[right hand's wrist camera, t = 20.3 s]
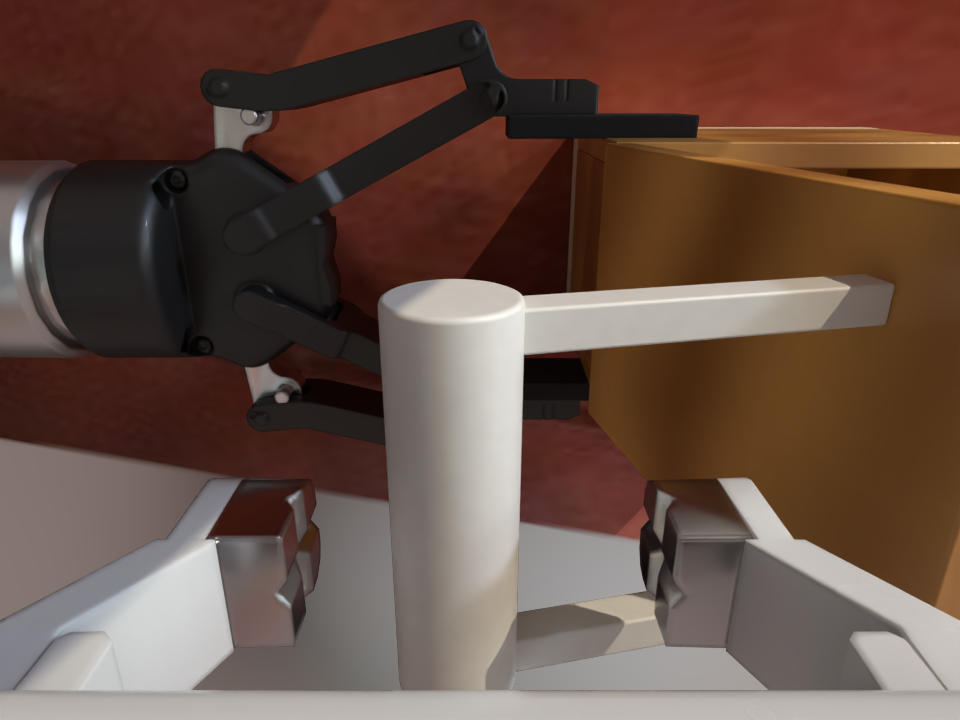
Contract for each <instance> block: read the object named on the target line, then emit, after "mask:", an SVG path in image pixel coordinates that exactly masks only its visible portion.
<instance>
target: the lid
mask: <svg viewBox="0 0 960 720" xmlns="http://www.w3.org/2000/svg"><path fill="white" fill-rule="evenodd" d="M378 321H379V338H380V355H381V373H382V390H383V407H384V424H385V442H386V459H387V476H388V493H389V511H390V527H391V545H392V562H393V579H394V597H395V613H396V631H397V648H398V666H399V681H400V685H401V688H402V690H511V689H512V687H513V684H514V681H515V673H516V672H517V671H523V670H528V669H533V668H539V667H544V666H550V665H555V664H560V663H566V662H571V661H577V660H582V659H588V658H593V657H598V656H603V655H609V654H615V653H620V652H625V651H631V650H636V649H641V648H647V647H652V646H658V645H663V644H665V643H664V640H663V637H662V634H661V631H660V628H659V625H658V622H657V620H656V617H655V614H654V607H655V598H656V597H654V596H653V595H652V594H650V593H649V592H648V591H645V592H639V593H633V594H627V595H621V596H615V597H609V598H603V599H597V600H591V601H585V602H579V603H573V604H567V605H561V606H555V607H549V608H543V609H536V610H530V611H525V612H518V613H517V598H518V560H519V522H520V484H521V446H522V408H523V370H524V355H531V354H543V353H555V352H567V351H579V350H591V349H592V358H591V374H590V389H589V404H588V413H589V414H590V415H591V417H592V418H593V419H594V420H595V421H596V422H597V424H598V425H599V426H600V427H601V428H602V429H603V431H604V432H605V433H606V434H607V435H608V436H609V438H610V439H611V440H612V441H613V442H614V443H615V445H616V446H617V447H618V448H619V449H620V450H621V452H622V453H623V454H624V455H625V456H626V457H627V459H628V460H629V461H630V462H631V463H632V464H633V466H634V467H635V468H636V469H637V470H638V471H639V473H640V474H641V475H642V476H643V477H644V478H645V480H646V481H647V482H648V481H649V480H677V479H717V478H742V477H746V478H748V479H750V480H752V482H753V483H754V484H755V486H756V487H757V489H758V490H759V491H760V493H761V494H762V496H763V497H764V498H765V500H766V501H767V502H768V504H769V505H770V507H771V508H772V509H773V511H774V512H775V514H776V515H777V516H778V518H779V519H780V520H781V522H782V523H783V525H784V526H785V527H786V529H787V530H788V532H789V533H790V534H791V536H792V537H793V539H794V540H806V541H808V542H810V543H812V544H814V545H816V546H818V547H820V548H822V549H824V550H825V551H827V552H829V553H831V554H833V555H835V556H837V557H839V558H841V559H843V560H845V561H847V562H848V563H850V564H852V565H854V566H856V567H858V568H860V569H862V570H864V571H866V572H868V573H869V574H871V575H873V576H875V577H877V578H879V579H881V580H883V581H885V582H887V583H889V584H891V585H892V586H894V587H896V588H898V589H900V590H902V591H904V592H906V593H908V594H910V595H912V596H914V597H915V598H917V599H919V600H921V601H923V602H925V603H927V604H929V605H931V606H933V607H935V608H937V609H938V610H940V611H942V612H944V613H946V614H948V615H950V616H952V617H954V618H956V619H958V620H960V194H953V193H947V192H940V191H934V190H928V189H921V188H915V187H909V186H902V185H896V184H889V183H883V182H877V181H870V180H864V179H858V178H851V177H845V176H838V175H832V174H826V173H819V172H813V171H806V170H800V169H794V168H787V167H781V166H775V165H768V164H762V163H755V162H749V161H743V160H736V159H730V158H724V157H717V156H711V155H704V154H698V153H692V152H685V151H679V150H672V149H666V148H660V147H653V146H647V145H641V144H634V143H608V144H606V147H605V162H604V177H603V192H602V207H601V222H600V238H599V253H598V268H597V283H596V291H592V292H576V293H561V294H545V295H530V296H522V295H521V294H520V293H519V292H518V291H516V290H514V289H512V288H510V287H507V286H504V285H501V284H497V283H493V282H487V281H480V280H469V279H438V280H427V281H420V282H414V283H410V284H406V285H402V286H399V287H396V288H394V289H391V290H389V291H387V292H385V293H384V294H383V295H382V296H381V297H380V299H379V302H378Z"/></svg>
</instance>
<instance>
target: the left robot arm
mask: <svg viewBox="0 0 960 720" xmlns="http://www.w3.org/2000/svg"><path fill="white" fill-rule="evenodd" d="M459 66H460V69H461V72H462V74H463V77H464V80H465V83H466V86H467V89H466V90H464V91H463V92H461V93H459V94H457V95H456V96H454V97H452V98H450V99H448V100H447V101H445V102H443V103H441V104H440V105H438V106H436V107H434V108H433V109H431V110H429V111H427V112H425V113H424V114H422V115H420V116H418V117H417V118H415V119H413V120H411V121H410V122H408V123H406V124H404V125H403V126H401V127H399V128H397V129H395V130H394V131H392V132H390V133H388V134H387V135H385V136H383V137H381V138H380V139H378V140H376V141H374V142H372V143H371V144H369V145H367V146H365V147H364V148H362V149H360V150H358V151H357V152H355V153H353V154H351V155H349V156H348V157H346V158H344V159H342V160H341V161H339V162H337V163H335V164H334V165H332V166H330V167H328V168H326V169H325V170H323V171H321V172H319V173H317V174H315V175H314V176H312V177H310V178H308V179H307V180H305V181H303V182H301V183H297V182H296V181H295V180H293V179H292V178H290V177H289V176H287V175H286V174H284V173H283V172H282V171H280V170H279V169H277V168H276V167H274V166H273V165H271V164H270V163H269V162H267V161H266V160H264V159H263V158H261V157H260V156H259V155H257V154H256V153H254V152H253V151H251V150H250V146H251V142H252V140H253V138H254V137H255V136H256V135H258V134H260V133H264V132H270V131H271V130H273V129H274V128H275V127H276V126H277V124H278V122H279V111H283V110H294V109H301V108H306V107H311V106H315V105H318V104H322V103H326V102H329V101H333V100H337V99H341V98H344V97H348V96H352V95H355V94H359V93H363V92H367V91H370V90H374V89H378V88H381V87H385V86H389V85H393V84H396V83H400V82H404V81H407V80H411V79H415V78H419V77H422V76H426V75H430V74H433V73H437V72H441V71H445V70H448V69H452V68H456V67H459ZM200 87H201V92H202V94H203V96H204V98H205V99H206V100H207V101H208V102H209V103H210V104H212V105H213V106H214V134H215V149H213V150H211V151H209V152H207V153H206V154H204V155H203V156H201V157H200V158H197V159H195V160H91V161H86V162H82V163H81V164H79V165H76V164H74V163H71V162H68V161H65V160H0V357H38V358H80V357H88V356H90V355H92V354H94V353H95V354H97V355H100V356H103V357H199V356H216V357H221V358H224V359H226V360H229V361H231V362H233V363H235V364H237V365H239V366H243V367H245V370H246V374H247V377H248V381H249V385H250V389H251V393H252V397H253V402H254V403H253V405H252V406H251V408H250V409H249V411H248V413H247V421H248V423H249V425H250V426H251V427H252V428H253V429H255V430H257V431H261V432H267V431H278V430H288V429H298V428H308V429H313V430H317V431H322V432H327V433H331V434H336V435H341V436H345V437H350V438H354V439H359V440H364V441H368V442H373V443H378V444H382V445H386V442H385V424H384V407H383V392H381V391H376V390H372V389H367V388H363V387H358V386H354V385H349V384H345V383H340V382H336V381H330V380H325V379H305V377H304V376H303V374H302V372H301V371H300V370H297V369H288V368H285V367H282V366H281V365H280V364H279V363H278V362H277V361H276V357H277V356H278V355H280V354H281V353H282V352H284V351H285V350H286V349H288V348H289V347H290V346H292V345H293V344H295V343H298V344H300V345H302V346H304V347H306V348H309V349H311V350H313V351H315V352H317V353H319V354H322V355H324V356H326V357H329V358H333V359H337V358H341V359H345V360H347V361H349V362H351V363H353V364H356V365H358V366H360V367H362V368H364V369H366V370H368V371H370V372H373V373H375V374H377V375H379V376H381V377H382V373H381V355H380V338H379V321H378V320H376V319H374V318H372V317H370V316H368V315H366V314H364V313H363V312H362V310H361V309H360V308H359V307H357V306H356V305H354V304H352V303H350V302H348V301H346V300H344V299H342V298H340V297H338V296H339V295H340V293H341V282H340V273H339V270H338V267H337V265H336V262H335V259H334V256H333V254H334V248H335V243H336V238H337V231H336V218H335V216H331V214H330V211H329V210H328V209H329V208H330V207H332V206H334V205H336V204H337V203H339V202H341V201H342V200H344V199H346V198H348V197H349V196H351V195H353V194H355V193H357V192H358V191H360V190H362V189H364V188H366V187H367V186H369V185H371V184H373V183H375V182H376V181H378V180H380V179H382V178H384V177H385V176H387V175H389V174H391V173H393V172H394V171H396V170H398V169H400V168H402V167H404V166H405V165H407V164H409V163H411V162H413V161H414V160H416V159H418V158H420V157H422V156H423V155H425V154H427V153H429V152H431V151H432V150H434V149H436V148H438V147H440V146H441V145H443V144H445V143H447V142H449V141H450V140H452V139H454V138H456V137H458V136H460V135H461V134H463V133H465V132H467V131H469V130H470V129H472V128H474V127H476V126H478V125H479V124H481V123H483V122H485V121H487V120H488V119H490V118H492V117H494V116H506V136H507V137H508V139H605V138H697V131H698V122H699V115H688V114H678V113H609V114H597V111H598V94H599V85H597V84H594V83H592V82H590V81H588V80H585V79H512V78H510V77H507V76H506V75H504V74H503V73H502V72H501V71H500V70H499V68H498V66H497V64H496V62H495V59H494V55H493V52H492V49H491V46H490V43H489V40H488V37H487V33H486V31H485V28H484V27H483V26H482V25H481V24H480V23H479V22H476V21H474V20H464V21H461V22H457V23H454V24H450V25H446V26H443V27H439V28H435V29H432V30H428V31H425V32H421V33H417V34H414V35H410V36H406V37H403V38H399V39H395V40H392V41H388V42H385V43H381V44H377V45H374V46H370V47H366V48H363V49H359V50H355V51H352V52H348V53H345V54H341V55H337V56H334V57H330V58H326V59H323V60H319V61H315V62H312V63H308V64H305V65H301V66H297V67H294V68H290V69H286V70H283V71H279V72H275V73H272V74H261V73H252V72H244V71H234V70H224V69H211V70H209V71H207V72H206V73H205V74H204V75H203V77H202V78H201V84H200ZM589 389H590V385H589V382H588V379H587V377H586V374H585V371H584V369H583V366H582V363H581V360H580V358H524V370H523V408H522V419H570V418H572V417H575V416H578V415H579V410H580V401H589Z"/></svg>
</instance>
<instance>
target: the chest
mask: <svg viewBox="0 0 960 720" xmlns="http://www.w3.org/2000/svg"><path fill="white" fill-rule="evenodd" d="M608 143H634V144H641V145H647V146H653V147H660V148H666V149H672V150H679V151H685V152H692V153H698V154H704V155H711V156H717V157H724V158H730V159H736V160H743V161H749V162H755V163H762V164H768V165H775V166H781V167H787V168H794V169H800V170H806V171H813V172H819V173H826V174H832V175H838V176H845V177H851V178H858V179H864V180H870V181H877V182H883V183H889V184H896V185H902V186H909V187H915V188H921V189H928V190H934V191H940V192H947V193H953V194H960V136H954V135H942V134H931V133H920V132H909V131H897V130H886V129H879V128H868V127H698V131H697V138H605V139H574V148H573V169H572V189H571V209H570V229H569V250H568V270H567V290H566V293H576V292H592V291H596V283H597V268H598V253H599V238H600V222H601V207H602V192H603V177H604V162H605V147H606V144H608ZM577 352H578V355H579V358H580V360H581V363H582V366H583V369H584V371H585V374H586V377H587V379H588V382H589V385H590V374H591V358H592V349H591V350H579V351H577Z"/></svg>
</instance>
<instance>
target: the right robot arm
mask: <svg viewBox="0 0 960 720" xmlns="http://www.w3.org/2000/svg"><path fill="white" fill-rule="evenodd" d="M315 507H316V497H315V489H314V485H313V483H312V481H311V479H267V478H247V479H245V478H214V479H210V480H208V481H207V483H206V484H205V485H204V487H203V488H202V490H201V491H200V492H199V494H198V495H197V497H196V498H195V499H194V501H193V502H192V503H191V505H190V506H189V508H188V509H187V510H186V512H185V513H184V515H183V516H182V517H181V519H180V520H179V522H178V523H177V525H176V526H175V527H174V529H173V530H172V531H171V533H170V534H169V536H168V537H167V538H166V540H154V541H152V542H150V543H148V544H146V545H144V546H142V547H140V548H138V549H136V550H135V551H133V552H131V553H129V554H127V555H125V556H123V557H121V558H119V559H117V560H115V561H113V562H111V563H110V564H108V565H106V566H104V567H102V568H100V569H98V570H96V571H94V572H92V573H90V574H88V575H87V576H85V577H83V578H81V579H79V580H77V581H75V582H73V583H71V584H69V585H67V586H65V587H63V588H61V589H60V590H58V591H56V592H54V593H52V594H50V595H48V596H46V597H44V598H42V599H40V600H38V601H36V602H35V603H33V604H31V605H29V606H27V607H25V608H23V609H21V610H19V611H17V612H15V613H13V614H12V615H10V616H8V617H6V618H4V619H2V620H0V720H960V620H958V619H956V618H954V617H952V616H950V615H948V614H946V613H944V612H942V611H940V610H938V609H937V608H935V607H933V606H931V605H929V604H927V603H925V602H923V601H921V600H919V599H917V598H915V597H914V596H912V595H910V594H908V593H906V592H904V591H902V590H900V589H898V588H896V587H894V586H892V585H891V584H889V583H887V582H885V581H883V580H881V579H879V578H877V577H875V576H873V575H871V574H869V573H868V572H866V571H864V570H862V569H860V568H858V567H856V566H854V565H852V564H850V563H848V562H847V561H845V560H843V559H841V558H839V557H837V556H835V555H833V554H831V553H829V552H827V551H825V550H824V549H822V548H820V547H818V546H816V545H814V544H812V543H810V542H808V541H806V540H794V539H793V537H792V536H791V534H790V533H789V532H788V530H787V529H786V527H785V526H784V525H783V523H782V522H781V520H780V519H779V518H778V516H777V515H776V514H775V512H774V511H773V509H772V508H771V507H770V505H769V504H768V502H767V501H766V500H765V498H764V497H763V496H762V494H761V493H760V491H759V490H758V489H757V487H756V486H755V484H754V483H753V482H752V480H750V479H748V478H746V477H742V478H717V479H677V480H649V481H648V482H647V485H646V489H645V495H644V507H645V509H646V512H647V515H648V517H649V521H648V522H647V523H646V524H645V525H644V526H643V527H642V528H641V534H640V547H639V548H640V566H641V571H642V577H643V581H644V584H645V587H646V590H647V591H648V592H649V593H650V594H652V595H653V596H654V597H656V598H655V607H654V614H655V617H656V620H657V622H658V625H659V628H660V631H661V634H662V637H663V640H664V643H665V645H666V646H670V647H707V648H726V651H727V652H728V653H729V654H730V655H731V656H732V657H733V658H734V659H735V660H737V661H738V662H739V663H740V664H741V665H742V666H743V667H744V668H745V669H746V670H748V671H749V672H750V673H751V674H752V675H753V676H754V677H755V678H756V679H757V680H758V681H759V682H761V683H762V684H763V685H764V686H765V687H766V688H767V689H768V690H192V689H193V688H194V687H195V686H196V685H198V684H199V683H200V682H201V681H202V680H203V679H204V678H205V677H206V676H207V675H209V674H210V673H211V672H212V671H213V670H214V669H215V668H216V667H217V666H218V665H219V664H220V663H222V662H223V661H224V660H225V659H226V658H227V657H228V656H229V655H230V654H231V653H233V652H234V649H233V648H253V647H288V646H295V643H296V640H297V637H298V634H299V631H300V628H301V625H302V623H303V620H304V617H305V614H306V607H305V598H304V597H306V596H307V595H308V594H310V593H311V592H312V591H313V590H314V587H315V584H316V580H317V577H318V571H319V564H320V533H319V528H318V527H317V526H316V525H315V524H314V523H313V522H312V521H311V517H312V515H313V512H314V509H315Z"/></svg>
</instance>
